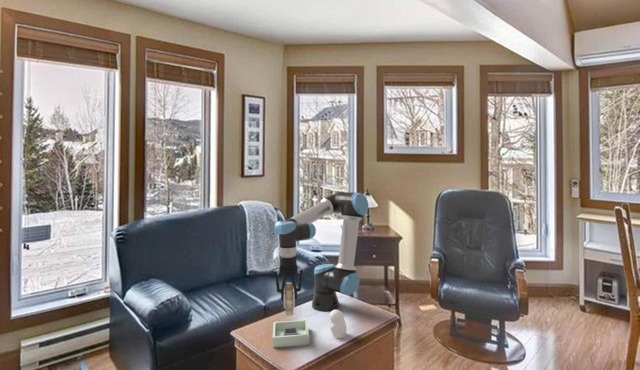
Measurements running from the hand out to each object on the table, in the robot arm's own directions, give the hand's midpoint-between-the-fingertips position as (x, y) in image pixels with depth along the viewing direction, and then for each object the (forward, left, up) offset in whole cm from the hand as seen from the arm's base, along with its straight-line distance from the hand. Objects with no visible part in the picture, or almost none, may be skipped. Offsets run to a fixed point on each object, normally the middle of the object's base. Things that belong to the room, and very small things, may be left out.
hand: (289, 306), depth 167 cm
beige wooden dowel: (0, 0, -4) cm, 4 cm away
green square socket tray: (0, 0, -15) cm, 15 cm away
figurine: (+1, +22, -15) cm, 27 cm away
